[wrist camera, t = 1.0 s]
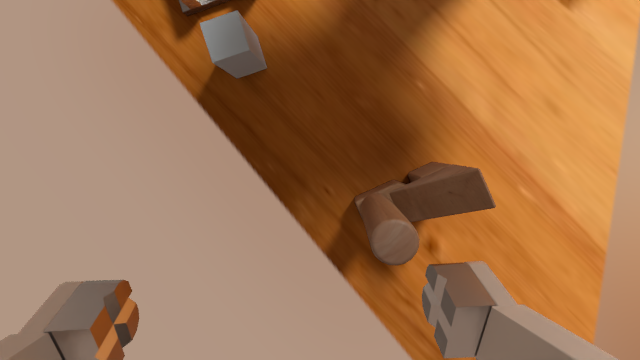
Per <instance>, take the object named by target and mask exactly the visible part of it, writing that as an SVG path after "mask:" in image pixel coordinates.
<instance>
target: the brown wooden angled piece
mask: <svg viewBox="0 0 640 360" xmlns="http://www.w3.org/2000/svg"><path fill="white" fill-rule="evenodd" d="M408 177H409V179H410V181H411V183H409V184H405V183H402V182H399V181H396V180H391V181H389V182H387V183H384V184H382V185H380V186H378V187H376V188H373V189H371V190H369V191H367V192H365V193H362V194H360V195H358V196H356V197H355V198H354V201H355V204H356V207H357V209H358V211H359V213H360V215H361V217H362V219H363V222H364V224H365V228H366V231H367V235H368V238H369V242H370V246H371V249H372V252H373V253H374V255H375V256H376V258H378V259H379V260H380V261H381V262H383V263H386V264H388V265H400V264H404V263H406V262H408V261H409V260H411V259H412V258H413V257H414V255H415V254H416V252H417V250H418V247H419V236H418V233H417V231H416V229H415V228H414V226H413V225H412V224H411V223H410V222H414V221H420V220H425V219H431V218H437V217H443V216H449V215H455V214H461V213H467V212H473V211H479V210H485V209H491V208H495V206H496V205H495V203H494V200H493V198H492V196H491V194H490V191H489V189H488V187H487V184H486V182H485V180H484V178H483V175H482V173H481V171H480V169H478V168H472V167H466V166H459V165H451V164H444V163H438V162H431V163H429V164H426V165H424V166H422V167H420V168H417V169H415V170H413V171H411V172H409V173H408Z"/></svg>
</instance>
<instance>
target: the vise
mask: <svg viewBox="0 0 640 360" xmlns="http://www.w3.org/2000/svg"><path fill="white" fill-rule="evenodd" d="M228 1H231V0H179V2H180V5H181V8H182V11H183V13H184V14H185V15H187V16H189V15H192V14H195V13H197V12H200V11H203V10H206V9H208V8H211V7H214V6H217V5H220V4H222V3H225V2H228Z"/></svg>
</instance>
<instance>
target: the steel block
mask: <svg viewBox="0 0 640 360" xmlns="http://www.w3.org/2000/svg"><path fill="white" fill-rule="evenodd" d="M200 25H201V29H202V32H203V35H204V38H205V41H206V44H207V47H208V50H209V53H210V56H211V59H212V63H214V64H215V65H217V66H218V67H220V68H222V69H223V70H225V71H226V72H228V73H229V74H231V75H232V76H234V77H235V78H240V77H243V76H246V75H249V74H252V73H255V72H258V71H261V70H264V69H267V66H266V62H265V59H264V56H263V53H262V50H261V46H260V43H259V40H258V37H257V35H256V34H255V33H254V31H253V30H252V29H251V27H250V26H249V25H248V24H247V22H246V21H245V20H244V18H243V17H242V16H241V14H240V13H239V12H238V10H236V11H233V12H230V13H228V14H225V15H222V16H219V17H216V18H214V19H211V20H208V21H205V22H202V23H200Z"/></svg>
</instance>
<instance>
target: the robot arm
mask: <svg viewBox="0 0 640 360" xmlns="http://www.w3.org/2000/svg"><path fill="white" fill-rule="evenodd" d="M425 276H426V278H427V280H428V283H427V284H426V285H425V286H424V287H423V293H422V302H423V309H424V313H425V316H426V318H427V321H428V322H429V323H430V324H431V325H433V326H434V327H435V328H436V329H435V334H434V337H435V339H436V342H437V344H438V346H439V348H440V351H441V353H442V355H443V358H462V357H476V359H477V360H619V359H617V358H615V357H614V356H612V355H610V354H608V353H607V352H605V351H603V350H601V349H600V348H598V347H596V346H594V345H593V344H591V343H589V342H588V341H586V340H584V339H582V338H581V337H579V336H577V335H575V334H574V333H572V332H570V331H568V330H567V329H565V328H563V327H562V326H560V325H558V324H556V323H555V322H553V321H551V320H549V319H548V318H546V317H544V316H542V315H541V314H539V313H537V312H535V311H534V310H532V309H530V308H529V307H527V306H525V305H518V304H517V303H516V302H515V300H514V299H513V298H512V296H511V295H510V294H509V293H508V291H507V290H506V289H505V287H504V286H503V285H502V283H501V282H500V281H499V280H498V278H497V277H496V276H495V274H494V273H493V272H492V270H491V269H490V268H489V266H488V265H487V264H486V263H485V262H483V261H474V262H464V263H446V264H429V266H428V267H427V270H426V275H425ZM131 292H132V289H131V287H130V285H129V282H128V281H125V280H103V281H85V282H65V283H63V284H61V285H59V286H58V287H57V288H56V290H55V291H54V292H53V293H52V294H51V296H50V297H49V298H48V299H47V300H46V301H45V302H44V304H43V305H42V306H41V307H40V308H39V310H38V311H37V312H36V313H35V314H34V315H33V317H32V318H31V319H30V320H29V321H28V322H27V324H26V325H25V326H24V327H23V328H22V330H21V331H20V332H19V333H18V334H14V335H9V336H8V337H6V338H4V339H3V340H1V341H0V360H123V358H124V356H125V355H124V352H123V349H122V348H123V347H124V346H126V345H127V344H128V343H129V342H131V341H132V340H133V337H134V335H135V333H136V331H137V327H138V322H139V312H138V307H137V304H136V303H135V302H134V301H133V300H131V299H130V298H128V297H129V295H130V294H131Z"/></svg>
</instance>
